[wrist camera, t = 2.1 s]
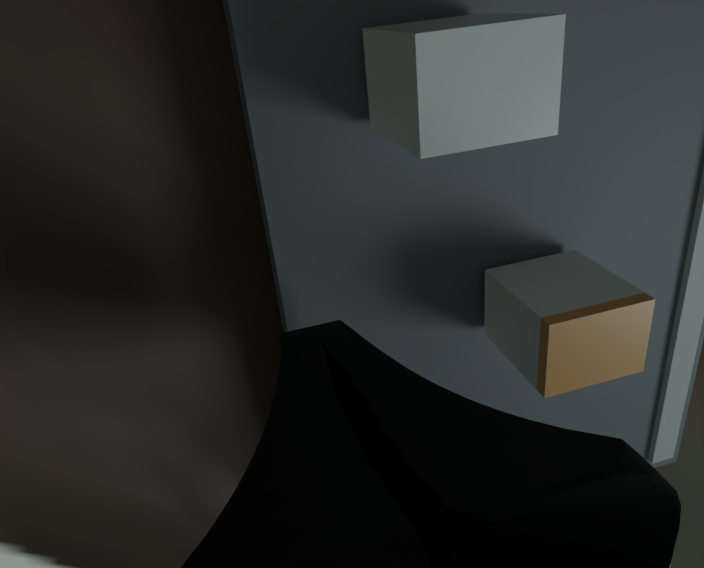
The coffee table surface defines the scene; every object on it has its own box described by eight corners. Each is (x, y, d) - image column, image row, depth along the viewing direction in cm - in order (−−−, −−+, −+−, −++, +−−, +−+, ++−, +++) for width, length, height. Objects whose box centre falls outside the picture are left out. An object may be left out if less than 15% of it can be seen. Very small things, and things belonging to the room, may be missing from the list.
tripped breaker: (569, 313, 15) (643, 371, 12) (484, 333, 14) (544, 398, 12) (574, 250, 14) (655, 299, 11) (485, 269, 13) (549, 325, 11)
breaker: (481, 109, 12) (557, 134, 9) (370, 127, 11) (420, 159, 9) (482, 12, 11) (566, 14, 8) (362, 28, 10) (414, 33, 8)
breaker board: (644, 432, 20) (681, 465, 19) (319, 528, 18) (332, 575, 16) (740, -102, 13) (813, -117, 11) (212, -53, 11) (217, -62, 9)
